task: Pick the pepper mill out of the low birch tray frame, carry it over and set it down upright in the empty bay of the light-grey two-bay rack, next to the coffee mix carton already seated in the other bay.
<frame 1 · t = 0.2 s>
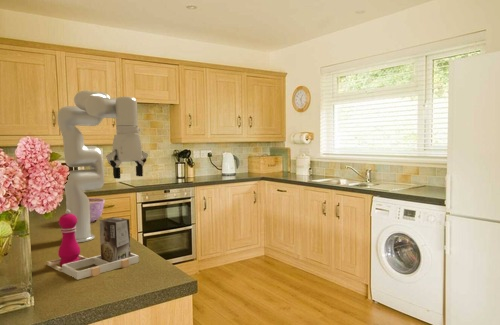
hand: (128, 177, 139), 31 cm above the countertop, tool pointing down, fingers open, 9 cm apart
tray frame: (69, 264, 136), on the countertop
rack: (101, 266, 133), on the countertop
pepper mill: (69, 264, 136), resting in tray frame
coffee box: (116, 263, 137), resting in rack
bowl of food: (86, 221, 209), on the countertop
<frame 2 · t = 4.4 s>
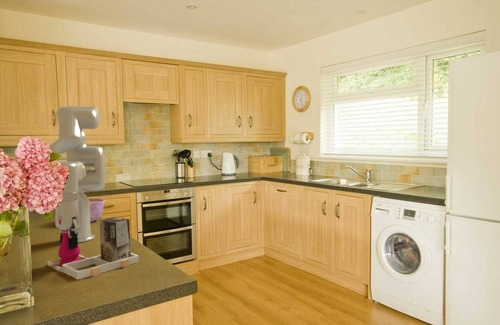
hand: (69, 246, 136), 7 cm above the countertop, tool pointing down, fingers closed on pepper mill, 5 cm apart
pepper mill: (69, 264, 136), resting in tray frame, touching gripper
everything else where it was.
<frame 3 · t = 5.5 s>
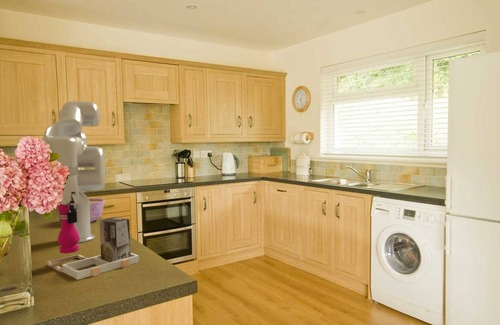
hand: (68, 221, 136), 16 cm above the countertop, tool pointing down, fingers closed on pepper mill, 5 cm apart
pepper mill: (69, 251, 136), point 5 cm above the countertop, touching gripper
everything else where it was.
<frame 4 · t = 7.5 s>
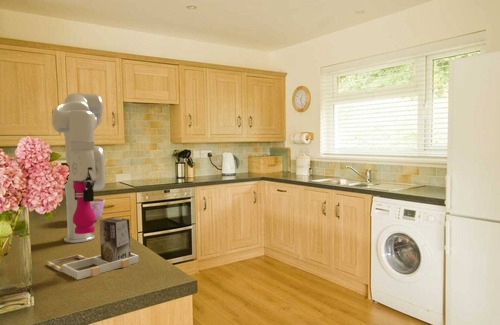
hand: (84, 199, 127), 25 cm above the countertop, tool pointing down, fingers closed on pepper mill, 5 cm apart
pepper mill: (85, 232, 127), point 14 cm above the countertop, touching gripper
everything else where it was.
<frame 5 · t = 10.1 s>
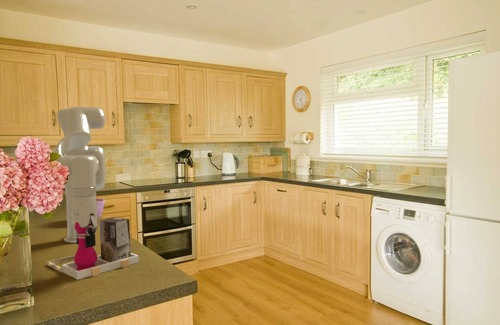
hand: (86, 244, 128), 9 cm above the countertop, tool pointing down, fingers open, 5 cm apart
pepper mill: (86, 272, 128), resting in rack
everything else where it was.
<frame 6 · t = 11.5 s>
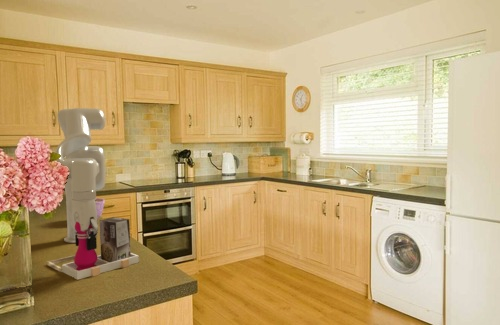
hand: (86, 246, 128), 8 cm above the countertop, tool pointing down, fingers open, 7 cm apart
nothing on the countertop moved.
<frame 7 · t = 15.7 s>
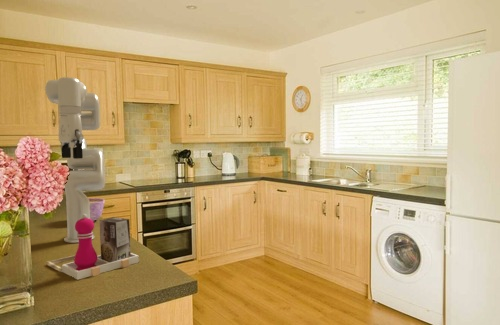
hand: (72, 158, 140), 38 cm above the countertop, tool pointing down, fingers open, 9 cm apart
nothing on the countertop moved.
at the end: pepper mill 0.8 cm from the target spot on the rack, point 0.0 cm above the rack's base; pepper mill tilted 0°; the gripper is holding nothing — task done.
